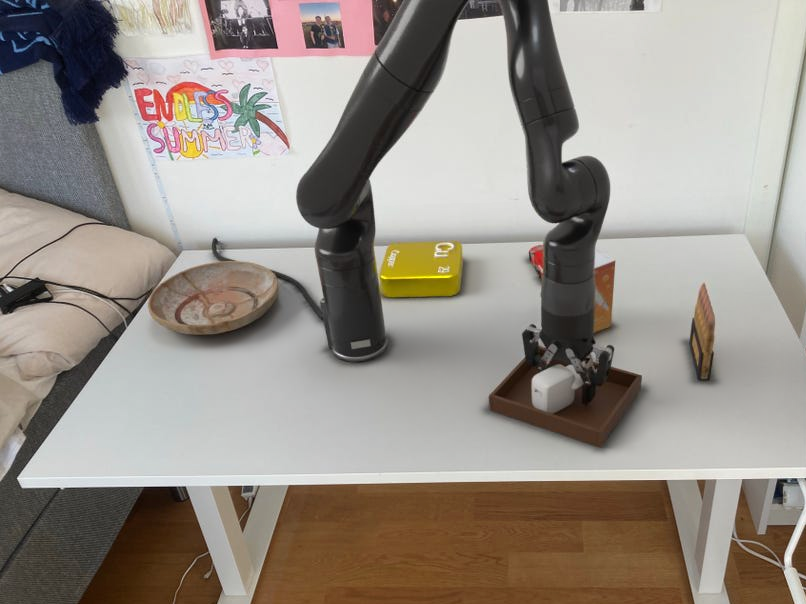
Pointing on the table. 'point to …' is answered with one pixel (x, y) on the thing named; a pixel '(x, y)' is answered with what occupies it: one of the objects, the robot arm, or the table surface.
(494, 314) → the table surface
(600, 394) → the tray
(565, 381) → the power adapter
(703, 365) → the ammunition clip
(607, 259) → the small box
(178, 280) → the ceramic bowl
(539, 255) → the race car
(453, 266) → the element tile
